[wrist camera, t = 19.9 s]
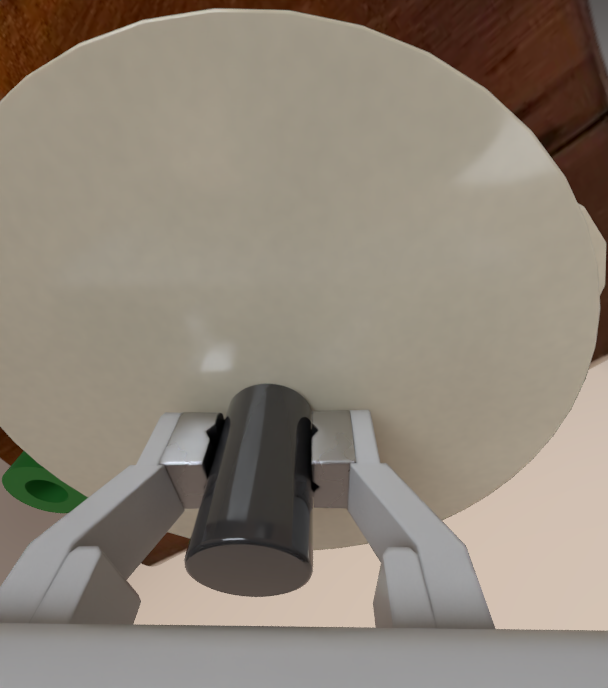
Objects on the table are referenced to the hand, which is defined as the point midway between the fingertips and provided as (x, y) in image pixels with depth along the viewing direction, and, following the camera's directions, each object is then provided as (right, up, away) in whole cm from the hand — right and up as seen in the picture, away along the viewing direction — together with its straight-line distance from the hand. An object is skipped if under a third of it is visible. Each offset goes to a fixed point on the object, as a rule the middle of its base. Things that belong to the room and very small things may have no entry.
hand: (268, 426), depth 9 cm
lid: (0, +1, +1) cm, 1 cm away
